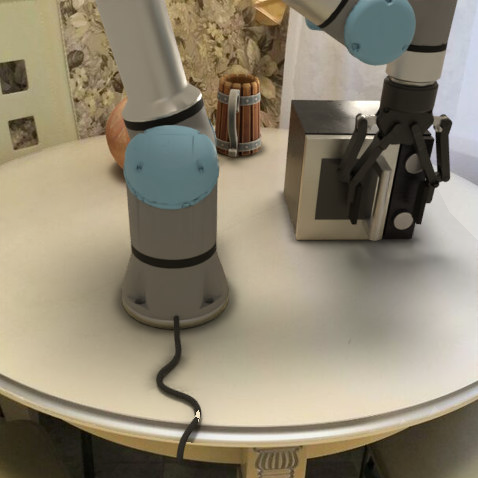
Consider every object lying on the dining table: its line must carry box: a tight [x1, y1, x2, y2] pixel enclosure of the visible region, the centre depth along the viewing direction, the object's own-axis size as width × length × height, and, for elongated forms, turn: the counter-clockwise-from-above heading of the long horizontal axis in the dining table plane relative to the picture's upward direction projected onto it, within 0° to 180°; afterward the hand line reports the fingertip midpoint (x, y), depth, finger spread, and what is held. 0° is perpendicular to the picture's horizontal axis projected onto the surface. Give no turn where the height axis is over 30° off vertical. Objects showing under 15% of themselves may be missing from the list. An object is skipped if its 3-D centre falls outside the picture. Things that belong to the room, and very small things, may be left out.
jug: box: [104, 96, 130, 170], centre depth 120 cm, size 18×18×20 cm
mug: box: [214, 72, 262, 158], centre depth 130 cm, size 16×11×15 cm
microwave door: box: [294, 135, 400, 242], centre depth 98 cm, size 7×15×18 cm, turn 94°
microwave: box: [283, 99, 436, 239], centre depth 106 cm, size 18×20×18 cm
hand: (384, 220), depth 99 cm, fingers open, 10 cm apart
